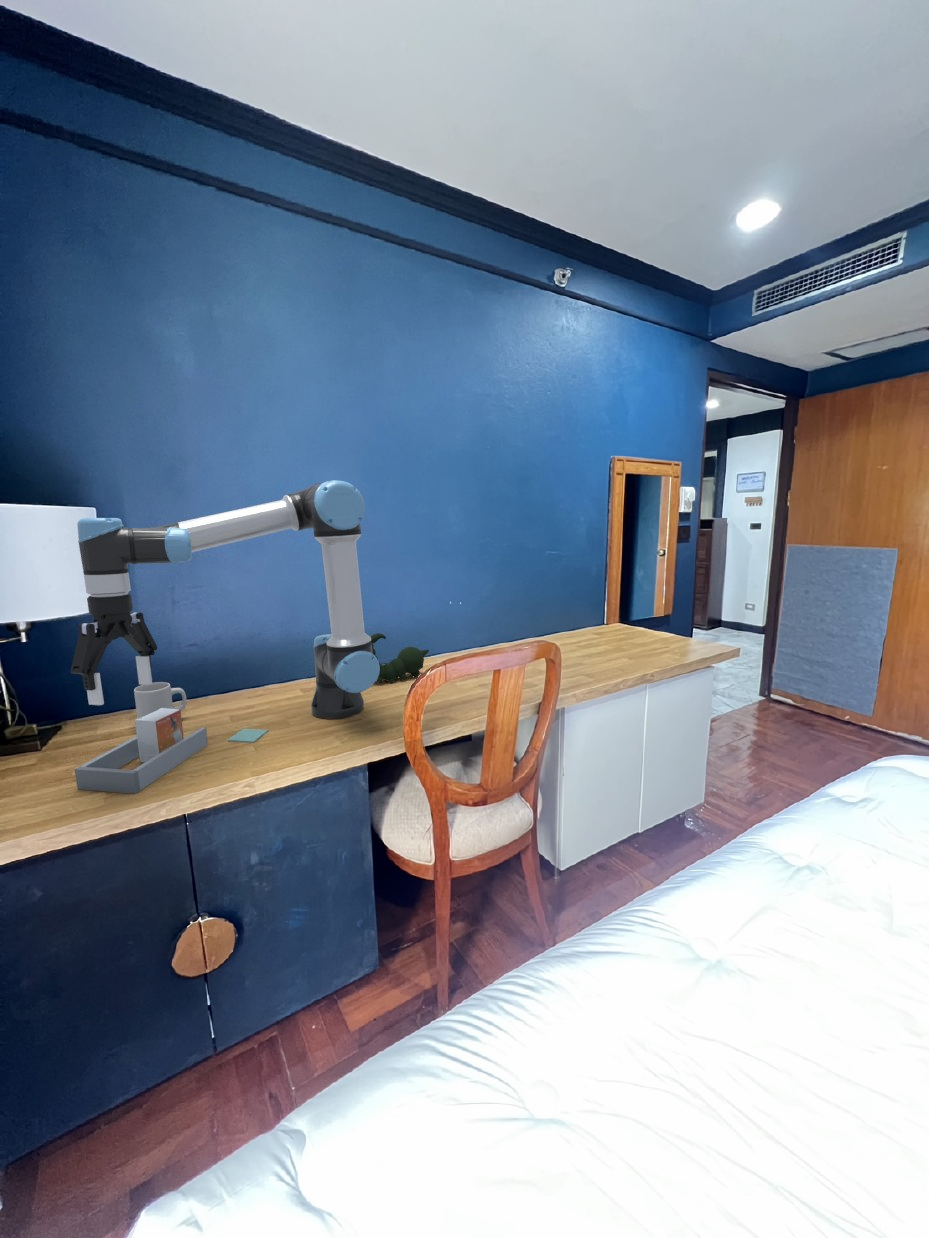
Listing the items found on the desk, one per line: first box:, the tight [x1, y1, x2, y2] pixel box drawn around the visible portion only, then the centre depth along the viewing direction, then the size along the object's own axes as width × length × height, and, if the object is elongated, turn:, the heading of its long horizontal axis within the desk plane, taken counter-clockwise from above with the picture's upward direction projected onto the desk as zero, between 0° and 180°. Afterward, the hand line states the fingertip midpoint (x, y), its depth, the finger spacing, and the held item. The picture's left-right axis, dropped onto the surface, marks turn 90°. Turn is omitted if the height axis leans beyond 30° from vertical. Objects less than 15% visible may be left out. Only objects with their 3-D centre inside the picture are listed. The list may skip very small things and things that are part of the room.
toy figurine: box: [370, 632, 430, 684], centre depth 175 cm, size 9×19×25 cm
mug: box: [133, 681, 187, 719], centre depth 136 cm, size 12×8×11 cm
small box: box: [134, 708, 185, 763], centre depth 117 cm, size 8×6×10 cm
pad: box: [227, 728, 269, 744], centre depth 129 cm, size 7×7×1 cm
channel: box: [74, 727, 209, 795], centre depth 113 cm, size 13×23×4 cm, turn 172°
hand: (122, 693), depth 106 cm, fingers open, 12 cm apart
